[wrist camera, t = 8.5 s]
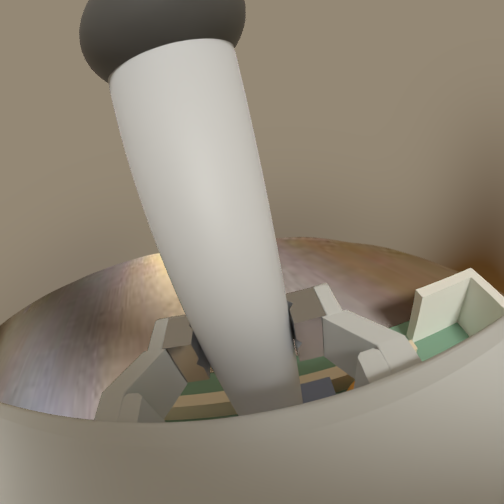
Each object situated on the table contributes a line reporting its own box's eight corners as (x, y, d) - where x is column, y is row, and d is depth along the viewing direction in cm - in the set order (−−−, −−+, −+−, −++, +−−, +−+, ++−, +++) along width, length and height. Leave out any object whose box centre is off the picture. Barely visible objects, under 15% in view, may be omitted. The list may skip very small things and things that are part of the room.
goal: (145, 532, 8) (96, 519, 6) (158, 391, 20) (130, 354, 18) (531, 409, 8) (565, 368, 6) (458, 312, 19) (470, 267, 17)
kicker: (257, 484, 12) (37, -31, 1) (250, 420, 16) (114, 21, 6) (348, 464, 11) (307, -101, 1) (329, 403, 16) (270, -18, 6)
